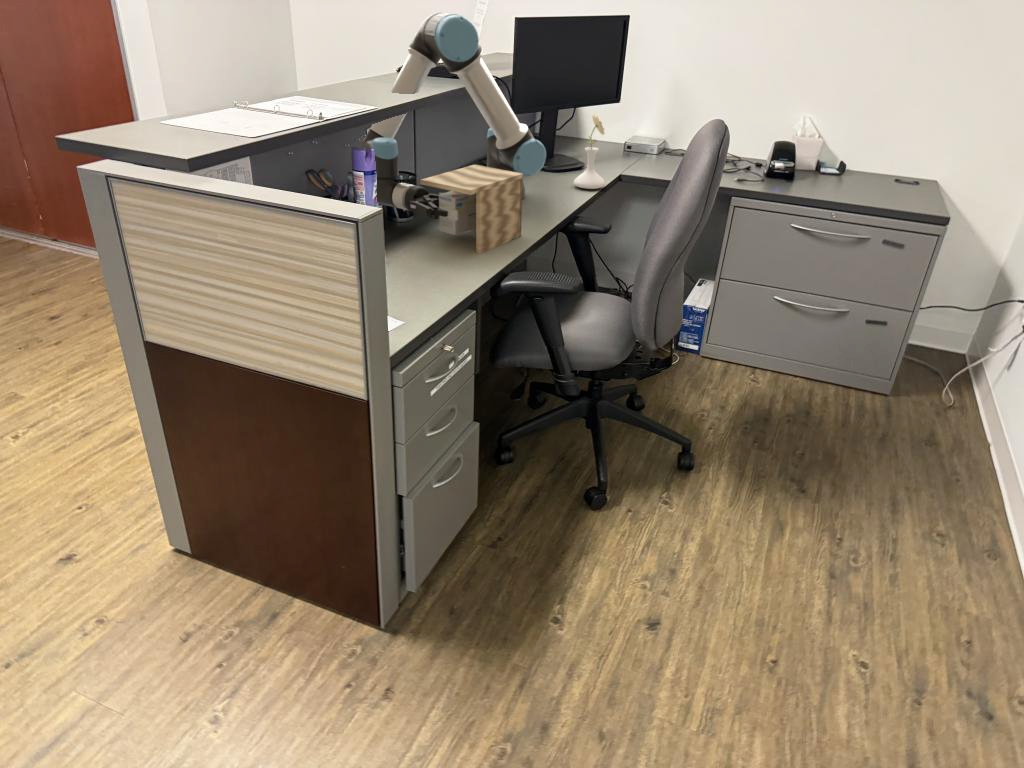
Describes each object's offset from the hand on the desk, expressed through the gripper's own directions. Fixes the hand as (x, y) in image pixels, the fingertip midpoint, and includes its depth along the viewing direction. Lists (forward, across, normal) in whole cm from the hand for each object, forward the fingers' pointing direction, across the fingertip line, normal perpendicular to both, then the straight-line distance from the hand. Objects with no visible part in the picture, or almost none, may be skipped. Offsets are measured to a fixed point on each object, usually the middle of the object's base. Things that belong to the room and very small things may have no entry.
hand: (470, 211), depth 213 cm
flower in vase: (-4, -76, -9) cm, 77 cm away
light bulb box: (-4, 0, -6) cm, 7 cm away
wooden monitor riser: (0, 0, -8) cm, 9 cm away
